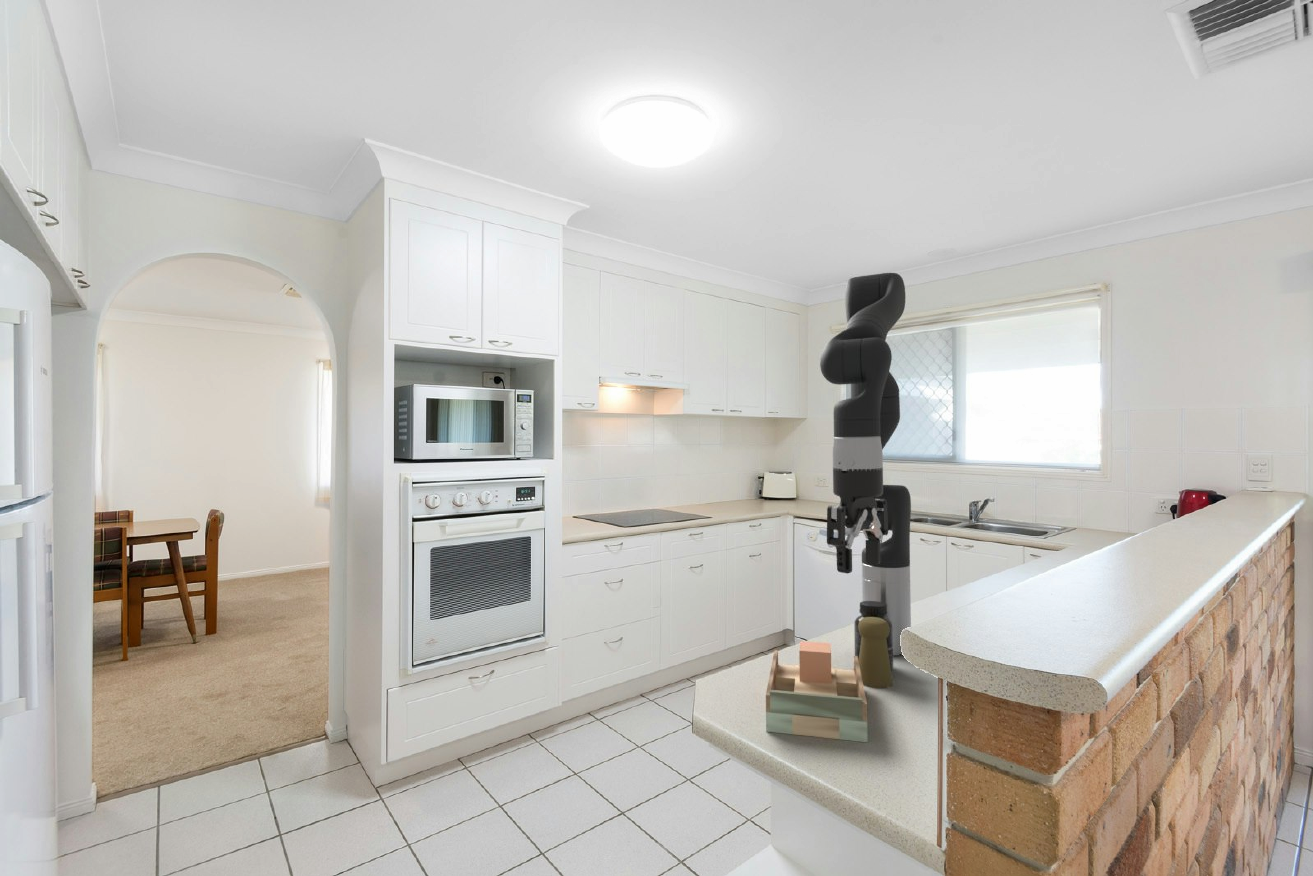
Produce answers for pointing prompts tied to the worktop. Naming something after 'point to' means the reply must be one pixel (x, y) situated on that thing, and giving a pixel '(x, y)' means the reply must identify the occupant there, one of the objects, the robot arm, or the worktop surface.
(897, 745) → the worktop surface
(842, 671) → the wooden organizer box
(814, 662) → the block
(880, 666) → the cork
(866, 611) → the supplement bottle
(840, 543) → the robot arm
